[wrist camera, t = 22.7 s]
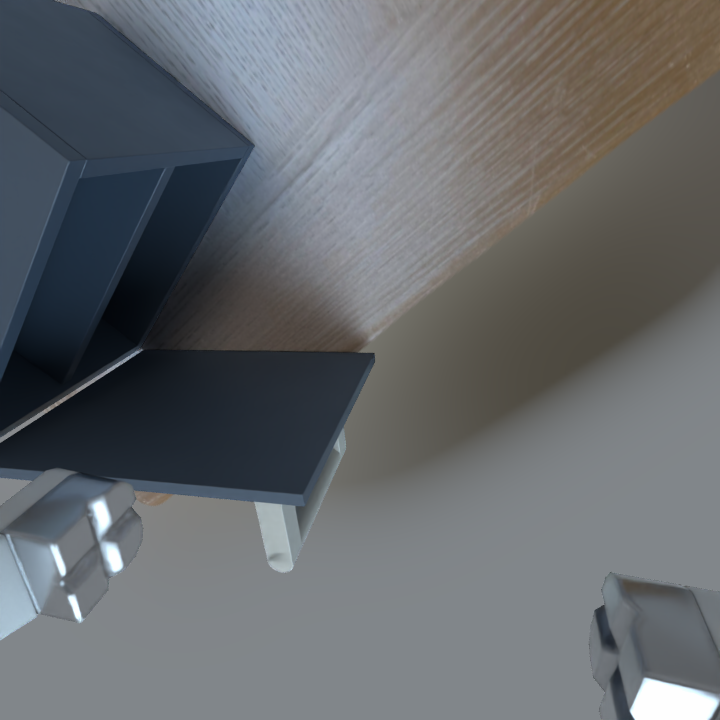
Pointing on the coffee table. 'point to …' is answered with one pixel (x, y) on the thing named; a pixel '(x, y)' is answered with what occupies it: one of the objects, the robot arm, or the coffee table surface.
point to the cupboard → (93, 197)
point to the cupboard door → (209, 432)
